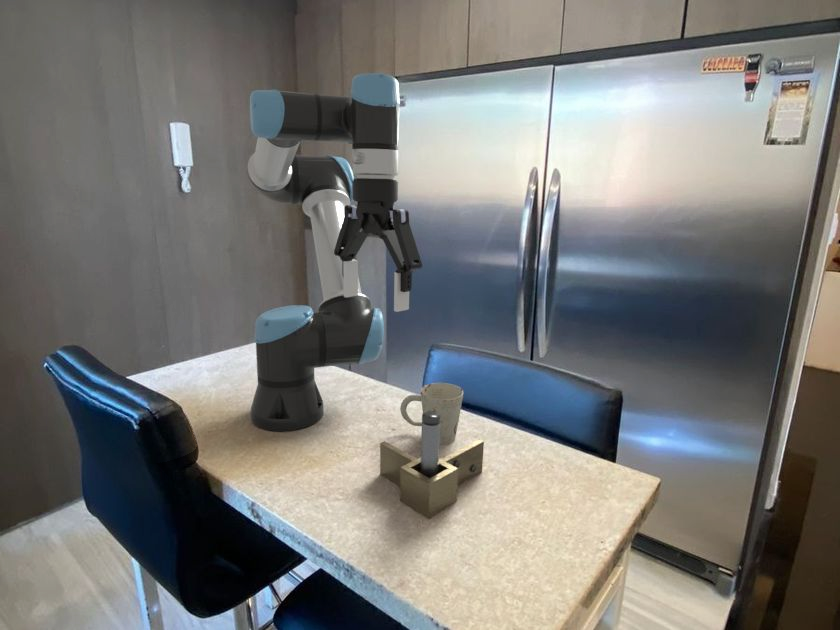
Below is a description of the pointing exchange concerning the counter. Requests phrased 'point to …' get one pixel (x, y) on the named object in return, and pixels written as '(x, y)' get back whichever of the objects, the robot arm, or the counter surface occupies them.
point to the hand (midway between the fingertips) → (374, 303)
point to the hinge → (438, 489)
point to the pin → (430, 444)
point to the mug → (439, 407)
